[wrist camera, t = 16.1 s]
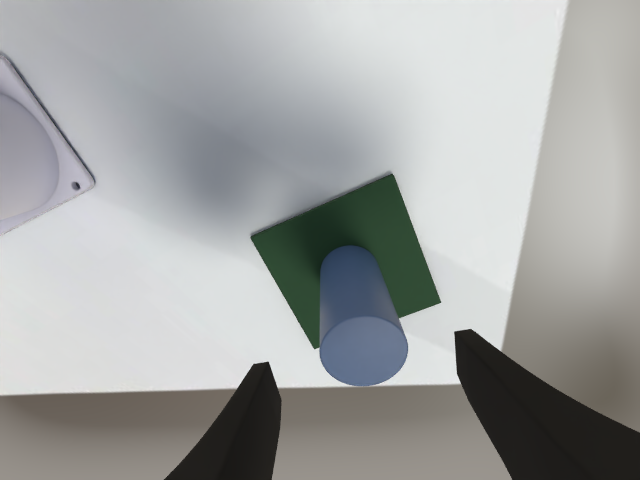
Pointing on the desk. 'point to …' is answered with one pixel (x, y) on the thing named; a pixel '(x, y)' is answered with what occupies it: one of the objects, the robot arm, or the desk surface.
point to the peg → (358, 320)
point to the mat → (343, 230)
